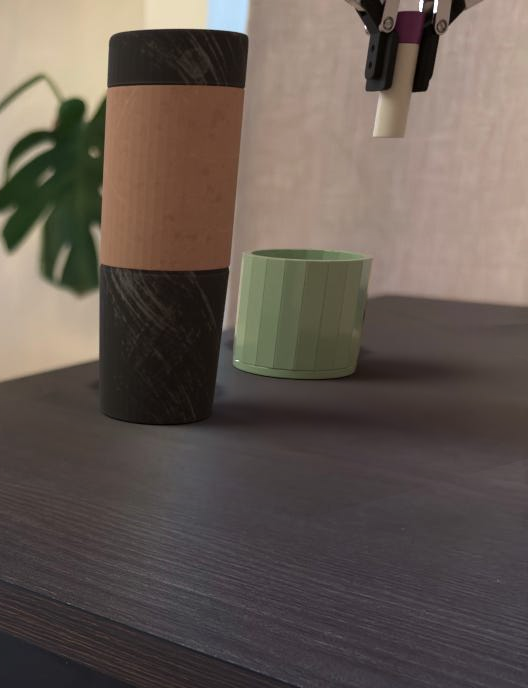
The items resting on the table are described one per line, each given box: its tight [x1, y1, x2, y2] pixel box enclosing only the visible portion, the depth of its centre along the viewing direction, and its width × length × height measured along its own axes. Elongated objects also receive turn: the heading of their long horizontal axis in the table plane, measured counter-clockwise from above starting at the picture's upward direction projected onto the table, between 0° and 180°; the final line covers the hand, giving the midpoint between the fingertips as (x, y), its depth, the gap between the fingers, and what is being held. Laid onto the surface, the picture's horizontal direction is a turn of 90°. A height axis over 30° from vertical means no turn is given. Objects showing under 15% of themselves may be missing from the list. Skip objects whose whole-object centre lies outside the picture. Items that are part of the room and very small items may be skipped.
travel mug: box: [98, 28, 250, 425], centre depth 55 cm, size 8×8×20 cm
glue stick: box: [372, 10, 426, 139], centre depth 79 cm, size 3×3×9 cm
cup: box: [232, 247, 375, 380], centre depth 70 cm, size 9×9×8 cm
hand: (396, 89), depth 80 cm, fingers closed on glue stick, 2 cm apart
